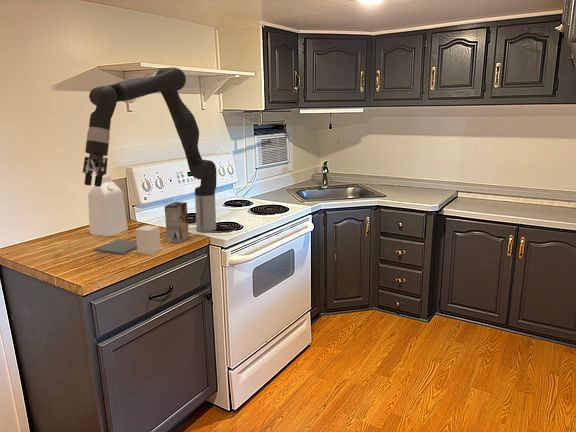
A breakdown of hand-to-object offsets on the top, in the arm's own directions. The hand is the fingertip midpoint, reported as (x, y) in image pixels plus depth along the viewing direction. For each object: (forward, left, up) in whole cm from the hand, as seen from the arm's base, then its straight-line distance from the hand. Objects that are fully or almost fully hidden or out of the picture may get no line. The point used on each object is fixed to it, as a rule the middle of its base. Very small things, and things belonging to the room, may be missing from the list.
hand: (92, 185), depth 160 cm
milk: (-41, -9, -29) cm, 51 cm away
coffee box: (-26, +25, -29) cm, 46 cm away
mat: (-16, +3, -29) cm, 33 cm away
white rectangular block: (-10, +16, -29) cm, 35 cm away
